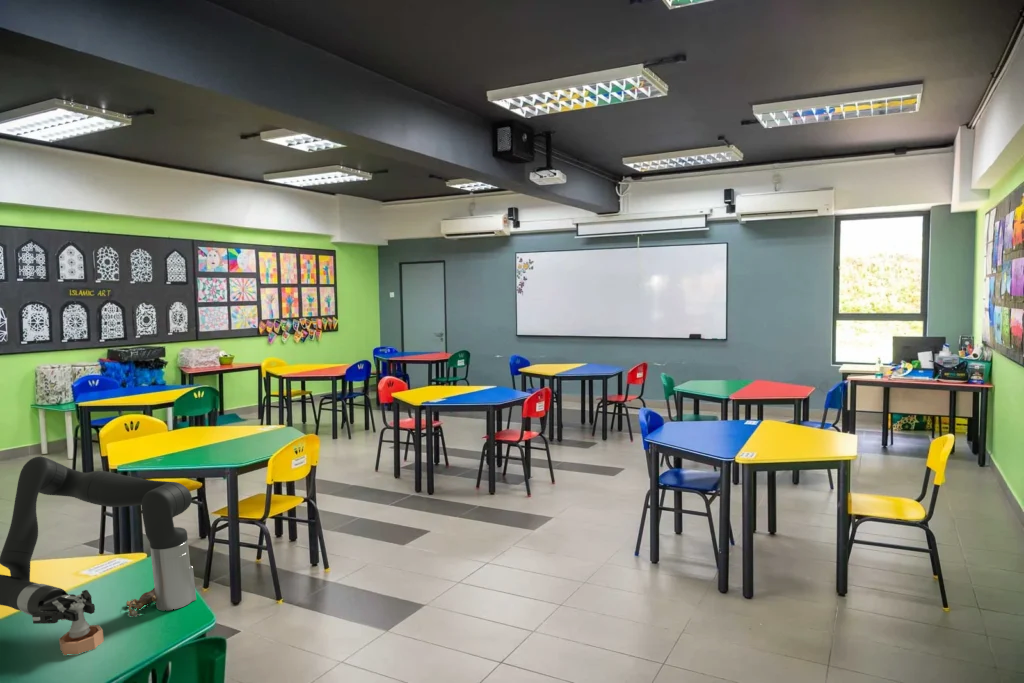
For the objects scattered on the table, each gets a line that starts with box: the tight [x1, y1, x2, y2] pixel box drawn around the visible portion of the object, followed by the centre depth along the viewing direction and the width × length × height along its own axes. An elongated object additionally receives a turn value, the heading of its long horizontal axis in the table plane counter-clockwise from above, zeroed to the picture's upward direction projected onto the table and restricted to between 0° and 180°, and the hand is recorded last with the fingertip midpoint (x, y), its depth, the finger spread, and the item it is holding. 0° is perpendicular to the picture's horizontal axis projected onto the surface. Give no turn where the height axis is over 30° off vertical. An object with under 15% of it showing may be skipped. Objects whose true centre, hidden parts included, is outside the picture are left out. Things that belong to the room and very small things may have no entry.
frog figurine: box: [126, 587, 156, 618], centre depth 185 cm, size 12×12×4 cm
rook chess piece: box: [68, 601, 90, 638], centre depth 164 cm, size 4×4×8 cm
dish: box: [58, 624, 105, 656], centre depth 165 cm, size 8×8×3 cm
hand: (84, 612), depth 163 cm, fingers closed on rook chess piece, 3 cm apart
